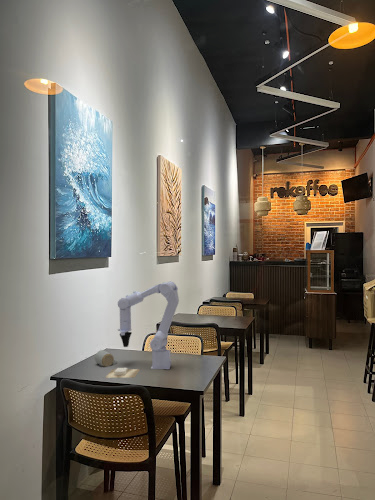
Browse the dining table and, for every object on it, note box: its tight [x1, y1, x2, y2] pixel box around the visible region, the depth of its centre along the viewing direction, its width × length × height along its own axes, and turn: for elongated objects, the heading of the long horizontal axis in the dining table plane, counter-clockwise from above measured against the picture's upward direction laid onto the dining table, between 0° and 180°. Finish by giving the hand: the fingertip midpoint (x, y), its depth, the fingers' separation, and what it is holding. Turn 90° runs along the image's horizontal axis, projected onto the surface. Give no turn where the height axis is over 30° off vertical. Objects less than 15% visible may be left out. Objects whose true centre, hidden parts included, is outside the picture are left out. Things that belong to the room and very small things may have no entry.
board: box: [104, 368, 141, 379], centre depth 194 cm, size 14×14×1 cm
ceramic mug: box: [94, 349, 118, 367], centre depth 212 cm, size 11×8×8 cm
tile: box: [114, 367, 129, 375], centre depth 194 cm, size 5×2×6 cm
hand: (125, 346), depth 211 cm, fingers closed
